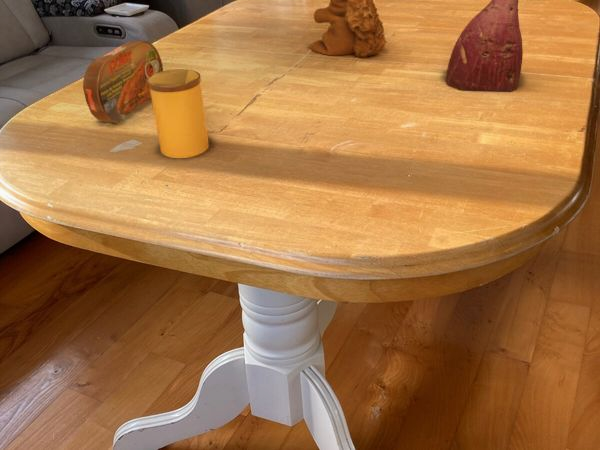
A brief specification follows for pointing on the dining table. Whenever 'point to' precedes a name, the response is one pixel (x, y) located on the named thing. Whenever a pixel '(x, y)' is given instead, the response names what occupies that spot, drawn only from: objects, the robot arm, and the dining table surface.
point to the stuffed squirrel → (350, 29)
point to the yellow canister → (179, 112)
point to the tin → (120, 80)
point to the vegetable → (488, 51)
